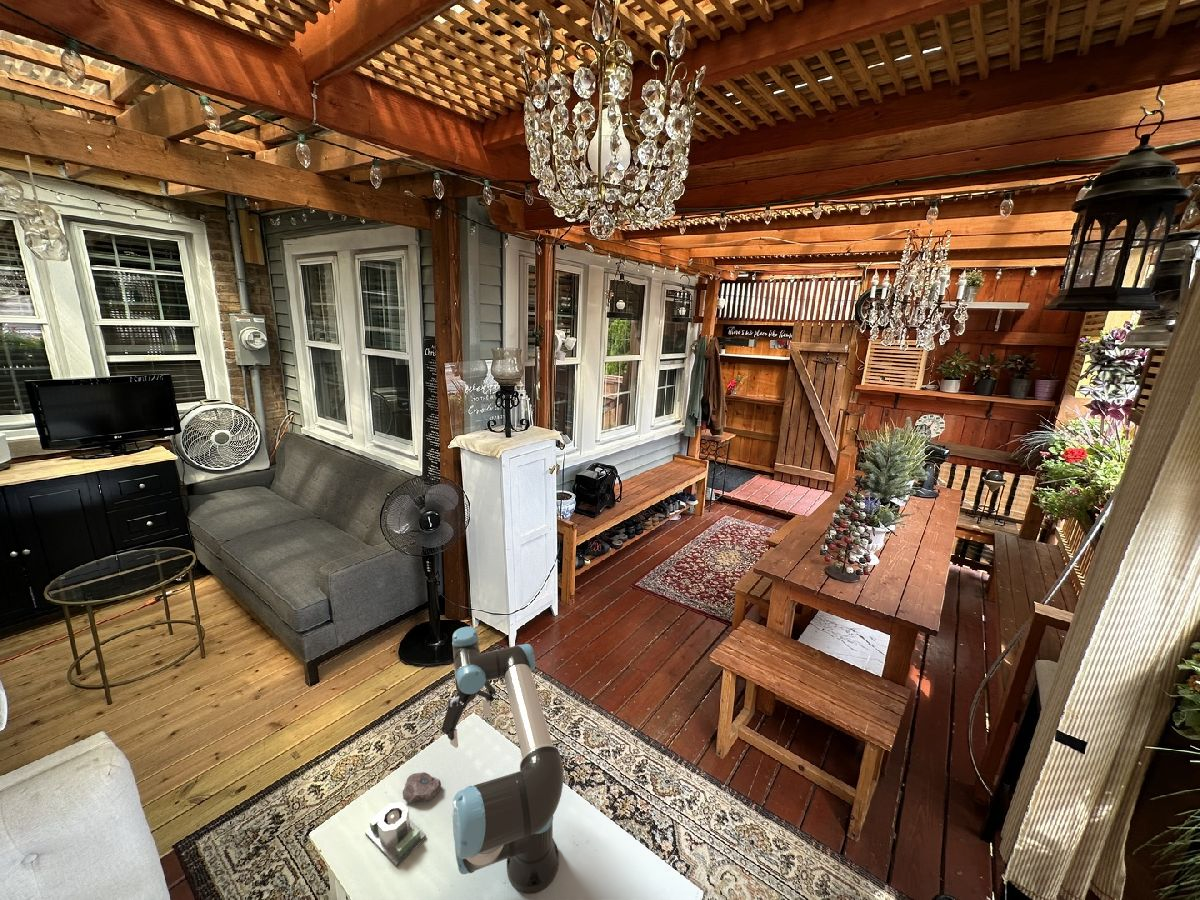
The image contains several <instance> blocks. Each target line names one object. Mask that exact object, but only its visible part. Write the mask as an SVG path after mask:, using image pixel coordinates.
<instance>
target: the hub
mask: <svg viewBox="0 0 1200 900" xmlns="http://www.w3.org/2000/svg"><path fill="white" fill-rule="evenodd" d="M384 808H385V807H384ZM384 808H383V809H384ZM383 809H382V810H383ZM382 810H381V811H382ZM395 810H396V811H398V812H399V816H400V820H399V821H398V822H396V823H395V824H392V825H388V822H387V816H388V814H389V813H390V812H392V811H395ZM409 819H410V813H409V807H407V806H406V805H405V804H404V803H403V802H395V803H391V804H390V805H389V806H388V807H387V808H385V809H384V810H383V811H382V812H381V813H380V817H379V821H378V830H379V837H380V842H381V843H382V844H383V845H384V846H385V847H386V848H390V847H396V846H397V845H398V844H399V843H400V842H401V841H402V840H403V839H404V838H405V837H406V836H407V835H408V834H409V829H410V820H411V819H410V820H409Z"/></svg>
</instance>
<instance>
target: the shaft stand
mask: <svg viewBox="0 0 1200 900" xmlns="http://www.w3.org/2000/svg"><path fill="white" fill-rule="evenodd" d="M390 804H392V803H391V802H389V803H388V804H387V805H386V806H385V807H384V808H383V809H381V810H380V811H379V812H378V813H377V814H375V816H374V817H373V818H371V819H370V820H369V828H368V829H367V830H365V833H364V834H365V835H366V836H367V838H368V839H370V841H371V842H372V843H373V844H374V846H376V847H377V848H378V849H379V850H380V851H381V853H383V854H384V856H386V857H387V859H388V860H389V861H390V862H391V863H392V864H393V865H394V866H395V867H396V868H398V867H399V865H401V864H402V863H403V862H404V860H406V858H407V857H408V856H410V854H411V853H413V851H414V850H415V849H416V848H417V847H418V846H419V845H420V844H421V843H422V842H423V841H424V840H425V839H426V838H427V834H426V833H425V832H424V831H423V830H422V829H421V828H420V827H418V825H416V824H415V823H414V822H413V820H411V819H410V818H409V820H410V829H409V834H408V835H407V836H406V837H405V838H404V839H403V840H402V841H401V842H400V843H399V844H398V845H397V846H396V847H390V848H386V847H385V846H384V845H383V844H382V843H381V842H380V837H379V830H378V821H379V817H380V813H381V812H382V811H383V810H384V809H385V808H387V807H388V806H389V805H390ZM399 820H400V816H399V812H398V811H396V810H395V811H392V812H390V813H389V814H388V816H387V822H388V825H392V824H395V823H396V822H398V821H399ZM425 837H426V838H425ZM424 838H425V839H424ZM423 839H424V840H423ZM422 840H423V841H422ZM421 841H422V842H421ZM420 842H421V843H420ZM419 843H420V844H419ZM418 844H419V845H418ZM417 845H418V846H417ZM416 846H417V847H416ZM415 847H416V848H415ZM414 848H415V849H414ZM413 849H414V850H413ZM412 850H413V851H412Z"/></svg>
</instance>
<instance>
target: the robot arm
mask: <svg viewBox="0 0 1200 900" xmlns="http://www.w3.org/2000/svg"><path fill="white" fill-rule="evenodd" d="M479 641H480V638H479V632H478V630H477V629H476V628H475V627H473V626H464V627H463V626H462V627H460V628H458V629H456V630H455V631H454V632H453V634H452V642H451V644H452V651H453V652H452V653H453V655H452V656H453V666H454V676H455V677H454V681H455V682H454V683H455V688H456V692H457V693H456V697H454V698H452V697H451V698H449V699H448V703H447V709H446V713H445V716H444V719H443V722H442V726H441V729H440V731H441V732H442V733H443V734H444V735H446V736H447V738H448V739H449V743H450V745H451V746H453V747H454V748H455V749H457V748H458V747H459V741H458V729H456V727H457V726H458V723H459V721H460V718H461V716H462V714H463V712H464V710H465V709H466V708H467V706H468V704H470V702H471V701H473V700H474V699H476V697H477V696H479V697H482V711H483V713H482V715H483V716H485V717H486V718H488V719H490V718H491V717H492V716H491V715H492V714H491V707H492V701H493V700H494V695H496V693H497V690H496V689H495V688H494V687H493V685H492V684H491V683H490V681H494V680H497V679H501V678H503V679H504V682H505V687H506V688H505V689H506V691H507V696H508V701H509V705H510V709H511V715H512V719H513V722H514V727H515V732H516V736H517V740H518V744H519V749H520V753H521V761H520V763H519V771H517V772H513V773H509V774H508V775H507V774H506V775H503V776H500V777H496V778H494V779H490V780H487V781H484V782H480V783H478V784H474V785H469V786H466V787H465V788H464V789H460V790H459V791H457V793H456V794H455V795H454V797H453V801H452V830H453V839H454V851H455V859H456V864H457V868H458V869H457V870H458V872H459V873H460V874H461V875H466V874H473V873H475V872H476V871H479V870H482V869H484V868H486V867H489V866H491V865H494V864H496V863H497V864H498V863H499V862H502V861H505V860H506V873H507V879H508V881H509V883H510V884H511V886H513V888H514V889H515V890H517V891H519V892H521V893H522V894H523V893H524V894H530V895H531V894H536V893H538V892H542V891H543V890H545V889H546V888H547V887H548V886H549V885H551V883H552V882H553V881H554V880H555V877H556V875H557V874H558V873H557V872H558V869H559V865H560V864H559V862H560V859H559V855H560V853H559V850H558V845H557V844H556V841H555V839H554V837H553V832H554V831H553V827H554V825H553V823H554V822H553V820H554V815H555V813H556V810H557V808H558V806H559V803H560V801H561V798H562V793H563V787H564V765H563V760H562V757H561V753H560V750H559V749H558V748H557V746H555V745H553V741H552V738H551V735H550V731H549V729H548V724H547V721H546V717H545V714H544V711H543V707H542V704H541V700H540V697H539V694H538V690H537V687H536V684H535V680H534V676H533V674H532V671H533V670H534V669H535V667H536V658H535V657H536V656H535V653H534V647H533V646H532V645H531V644H530V643H525V644H517V645H514V646H510V647H506V648H505V647H504V648H502V649H500V648H499V649H497V650H492V651H487V652H483V653H481V650H480V644H479ZM484 687H485V689H486V690H487V692H486V691H484V690H482V689H483V688H484Z"/></svg>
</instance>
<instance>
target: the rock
mask: <svg viewBox="0 0 1200 900" xmlns="http://www.w3.org/2000/svg"><path fill="white" fill-rule="evenodd" d="M441 787H442V782H441V780H440V779H439V778H437V777H434V776H432V775H431V774H430V773H428V772H425V771H423V772H417V773H412V774H410V775H409V776H408V777H407V779H406V781H405V784H404V788H403V790H402V799H403V800H405V802H406V803H408V804H409V803H413V802H422V801H423V800H424V801H431V800H433V799H434V798H435V796H436V795H437V794H438V793H439V792H440V790H441Z"/></svg>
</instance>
